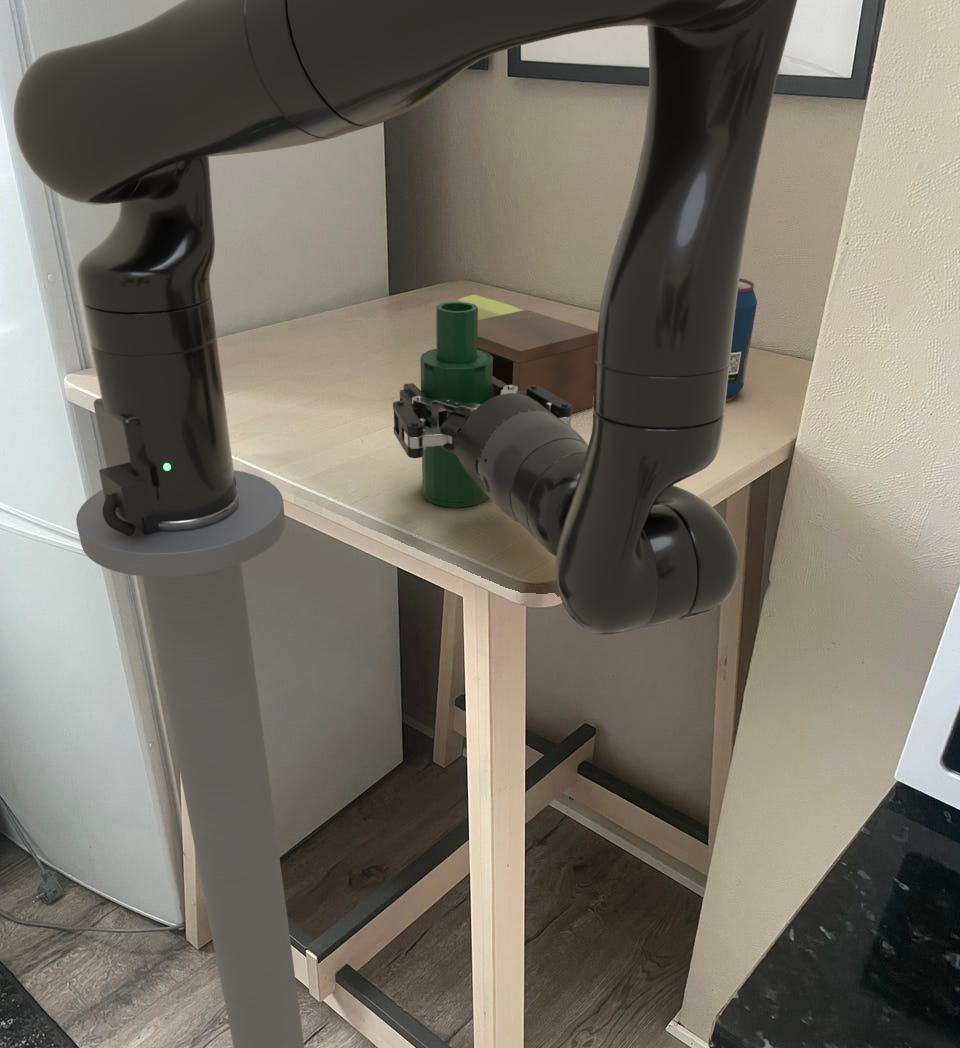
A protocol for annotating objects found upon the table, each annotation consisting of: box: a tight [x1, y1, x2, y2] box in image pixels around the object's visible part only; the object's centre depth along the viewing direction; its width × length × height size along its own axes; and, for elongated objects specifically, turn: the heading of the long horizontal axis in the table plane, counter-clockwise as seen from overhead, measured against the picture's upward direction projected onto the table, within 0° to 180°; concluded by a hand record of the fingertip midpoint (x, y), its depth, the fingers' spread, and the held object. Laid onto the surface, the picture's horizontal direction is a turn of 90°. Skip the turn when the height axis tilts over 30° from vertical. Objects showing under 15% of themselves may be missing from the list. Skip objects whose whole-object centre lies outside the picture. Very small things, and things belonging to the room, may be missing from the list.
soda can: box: [726, 277, 758, 402], centre depth 106 cm, size 7×7×12 cm
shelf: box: [477, 309, 598, 414], centre depth 103 cm, size 11×11×8 cm
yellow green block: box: [456, 294, 524, 320], centre depth 125 cm, size 14×6×20 cm
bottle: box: [420, 301, 493, 509], centre depth 82 cm, size 6×6×16 cm
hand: (446, 390), depth 83 cm, fingers open, 6 cm apart
